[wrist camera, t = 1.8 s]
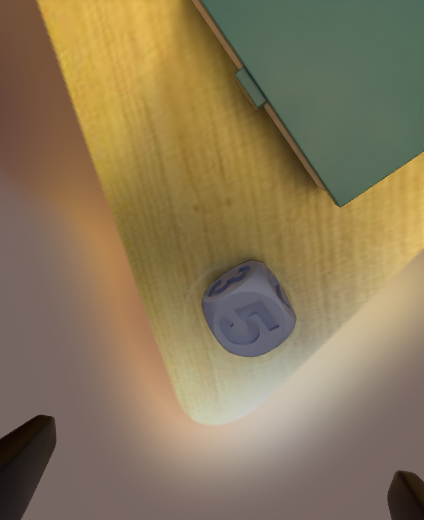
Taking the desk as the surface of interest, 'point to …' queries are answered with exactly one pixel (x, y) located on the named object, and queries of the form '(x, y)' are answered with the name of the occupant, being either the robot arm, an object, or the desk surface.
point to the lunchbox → (332, 81)
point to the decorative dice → (248, 310)
